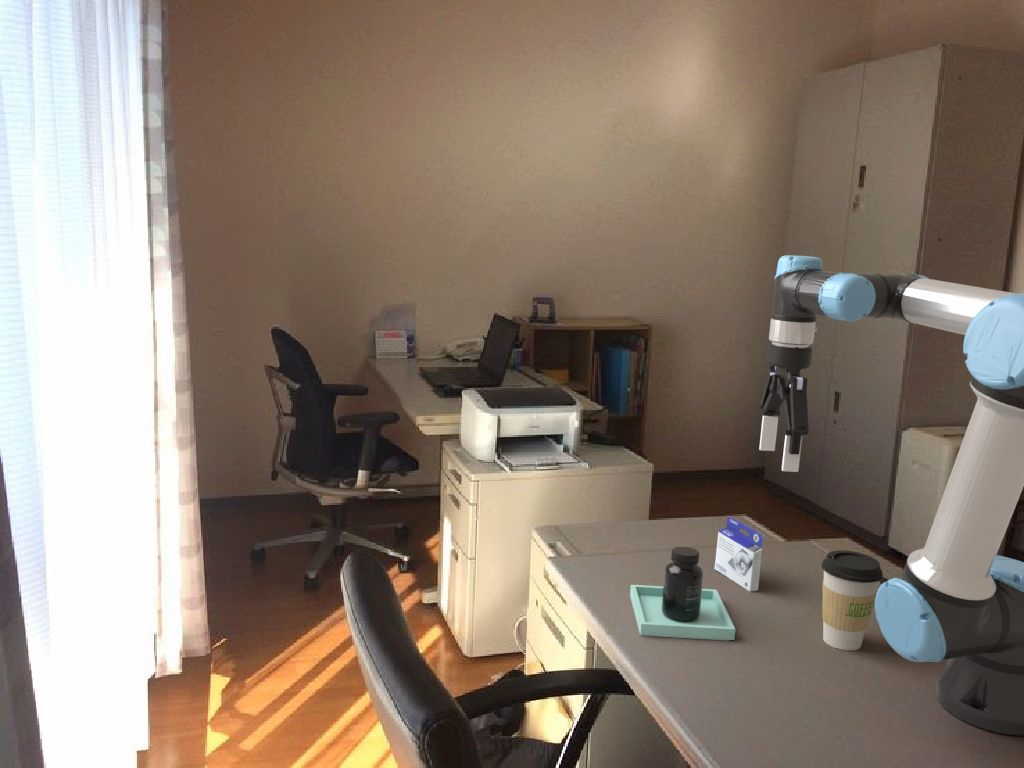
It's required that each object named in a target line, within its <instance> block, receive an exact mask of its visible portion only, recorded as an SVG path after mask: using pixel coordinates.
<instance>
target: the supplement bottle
mask: <svg viewBox="0 0 1024 768" xmlns="http://www.w3.org/2000/svg"><path fill="white" fill-rule="evenodd" d="M699 563H700V551H699V550H697V549H696V548H694V547H690V546H689V547H688V546H676V547H675V546H674V547H673V548H672V549H671V556H670V562H668V563H667V564H666V565H665V567H664V572H663V584H662V587H663V596H662V613H663V614H664V615H665V616H666V617H667V618H669V619H672V620H675V621H680V622H690V621H694V620H696V619H697V618H698V617H699V615H700V609H701V597H702V589H703V583H704V582H703V581H704V570H703V569H702V567H701V566H700V565H699Z"/></svg>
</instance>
